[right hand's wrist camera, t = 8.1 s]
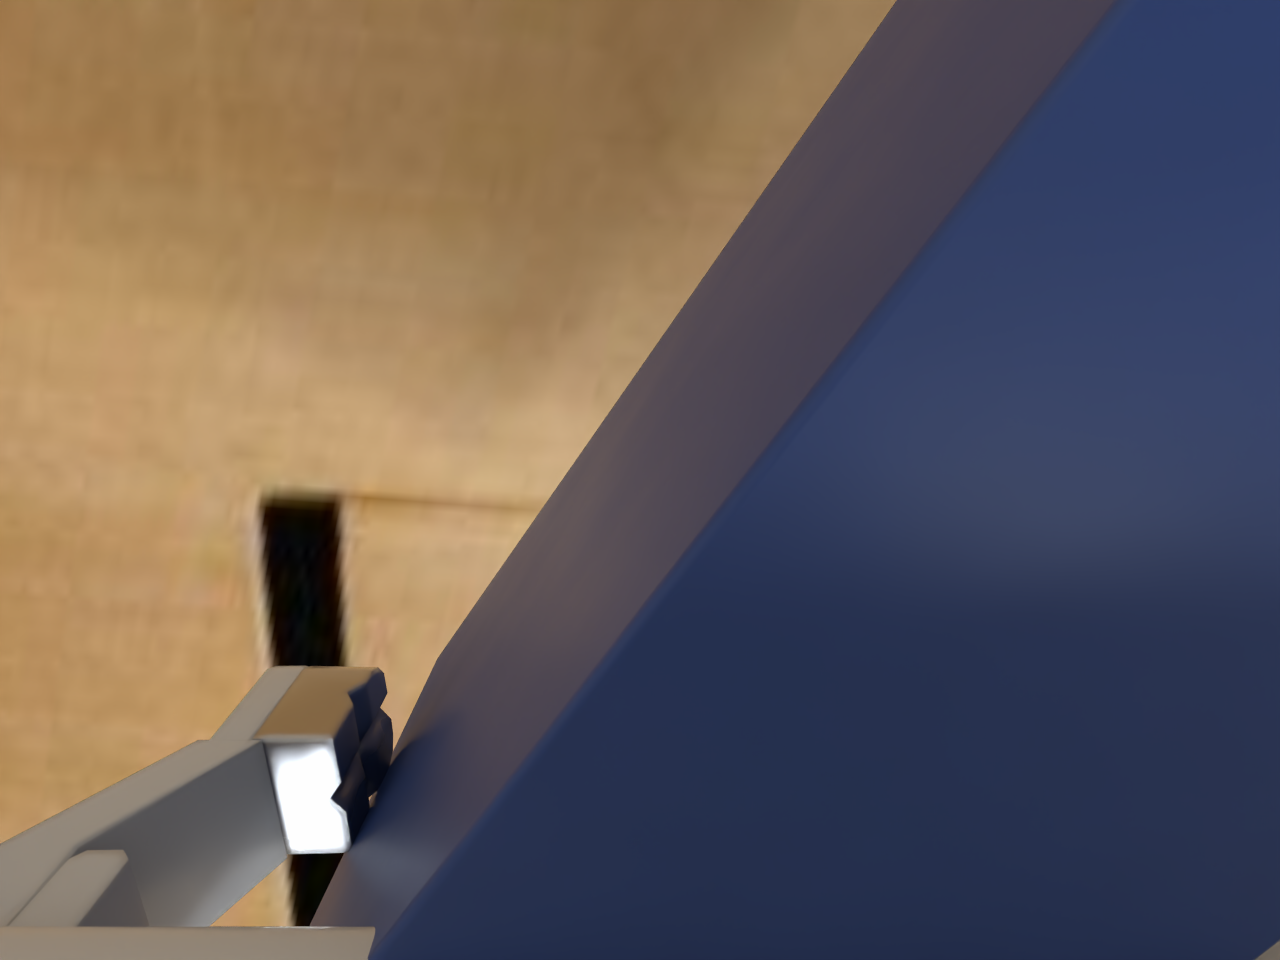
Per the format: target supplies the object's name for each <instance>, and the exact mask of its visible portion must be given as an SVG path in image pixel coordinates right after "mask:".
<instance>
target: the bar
mask: <svg viewBox="0 0 1280 960" xmlns="http://www.w3.org/2000/svg"><path fill="white" fill-rule="evenodd" d="M369 804H370V809H369V811H368V813H367V816H366V818H365V820H364V822H363V824H362V826H361V828H360V830H359V832H358V835H357V837H356V839H355V841H354V843H353V845H352V847H351V848H350V850H349V851H348V852H345V853H344V855H343V857H342V859H341V861H340V864H339V866H338V868H337V870H336V872H335V874H334V876H333V878H332V880H331V882H330V884H329V887H328V889H327V891H326V893H325V895H324V897H323V899H322V901H321V903H320V905H319V907H318V910H317V912H316V914H315V916H314V918H313V920H312V922H311V924H310V926H309V927H375V935H374V939H373V942H372V945H371V948H370V952H369V955H368V960H1255V959H1256V958H1258V957H1259V956H1260V955H1262V954H1263V953H1264V952H1266V951H1267V950H1268V949H1269V948H1271V947H1272V946H1273V945H1275V944H1276V943H1277V942H1279V941H1280V0H897V1H896V2H895V4H894V5H893V7H892V8H891V9H890V11H889V12H888V14H887V15H886V17H885V18H884V19H883V21H882V22H881V24H880V25H879V27H878V28H877V30H876V31H875V32H874V34H873V35H872V37H871V38H870V40H869V41H868V42H867V44H866V45H865V47H864V48H863V50H862V51H861V52H860V54H859V55H858V57H857V58H856V60H855V61H854V62H853V64H852V65H851V67H850V68H849V70H848V71H847V73H846V74H845V75H844V77H843V78H842V80H841V81H840V83H839V84H838V85H837V87H836V88H835V90H834V91H833V93H832V94H831V95H830V97H829V98H828V100H827V101H826V103H825V104H824V105H823V107H822V108H821V110H820V111H819V113H818V114H817V116H816V117H815V118H814V120H813V121H812V123H811V124H810V126H809V127H808V128H807V130H806V131H805V133H804V134H803V136H802V137H801V138H800V140H799V141H798V143H797V144H796V146H795V147H794V148H793V150H792V151H791V153H790V154H789V156H788V157H787V159H786V160H785V161H784V163H783V164H782V166H781V167H780V169H779V170H778V171H777V173H776V174H775V176H774V177H773V179H772V180H771V181H770V183H769V184H768V186H767V187H766V189H765V190H764V191H763V193H762V194H761V196H760V197H759V199H758V200H757V202H756V203H755V204H754V206H753V207H752V209H751V210H750V212H749V213H748V214H747V216H746V217H745V219H744V220H743V222H742V223H741V224H740V226H739V227H738V229H737V230H736V232H735V233H734V234H733V236H732V237H731V239H730V240H729V242H728V243H727V244H726V246H725V247H724V249H723V250H722V252H721V253H720V255H719V256H718V257H717V259H716V260H715V262H714V263H713V265H712V266H711V267H710V269H709V270H708V272H707V273H706V275H705V276H704V277H703V279H702V280H701V282H700V283H699V285H698V286H697V287H696V289H695V290H694V292H693V293H692V295H691V296H690V298H689V299H688V300H687V302H686V303H685V305H684V306H683V308H682V309H681V310H680V312H679V313H678V315H677V316H676V318H675V319H674V320H673V322H672V323H671V325H670V326H669V328H668V329H667V330H666V332H665V333H664V335H663V336H662V338H661V339H660V341H659V342H658V343H657V345H656V346H655V348H654V349H653V351H652V352H651V353H650V355H649V356H648V358H647V359H646V361H645V362H644V363H643V365H642V366H641V368H640V369H639V371H638V372H637V373H636V375H635V376H634V378H633V379H632V381H631V382H630V384H629V385H628V386H627V388H626V389H625V391H624V392H623V394H622V395H621V396H620V398H619V399H618V401H617V402H616V404H615V405H614V406H613V408H612V409H611V411H610V412H609V414H608V415H607V416H606V418H605V419H604V421H603V422H602V424H601V425H600V427H599V428H598V429H597V431H596V432H595V434H594V435H593V437H592V438H591V439H590V441H589V442H588V444H587V445H586V447H585V448H584V449H583V451H582V452H581V454H580V455H579V457H578V458H577V459H576V461H575V462H574V464H573V465H572V467H571V468H570V470H569V471H568V472H567V474H566V475H565V477H564V478H563V480H562V481H561V482H560V484H559V485H558V487H557V488H556V490H555V491H554V492H553V494H552V495H551V497H550V498H549V500H548V501H547V502H546V504H545V505H544V507H543V508H542V510H541V511H540V513H539V514H538V515H537V517H536V518H535V520H534V521H533V523H532V524H531V525H530V527H529V528H528V530H527V531H526V533H525V534H524V535H523V537H522V538H521V540H520V541H519V543H518V544H517V545H516V547H515V548H514V550H513V551H512V553H511V554H510V556H509V557H508V558H507V560H506V561H505V563H504V564H503V566H502V567H501V568H500V570H499V571H498V573H497V574H496V576H495V577H494V578H493V580H492V581H491V583H490V584H489V586H488V587H487V588H486V590H485V591H484V593H483V594H482V596H481V597H480V599H479V600H478V601H477V603H476V604H475V606H474V607H473V609H472V610H471V611H470V613H469V614H468V616H467V617H466V619H465V620H464V621H463V623H462V624H461V626H460V627H459V629H458V630H457V631H456V633H455V634H454V636H453V637H452V639H451V640H450V641H449V643H448V644H447V646H446V647H445V649H444V650H443V652H442V653H441V654H440V656H439V657H438V659H437V661H436V663H435V665H434V667H433V669H432V671H431V673H430V676H429V678H428V680H427V682H426V684H425V686H424V688H423V690H422V692H421V694H420V696H419V698H418V701H417V703H416V705H415V707H414V709H413V711H412V713H411V715H410V717H409V719H408V721H407V724H406V726H405V728H404V730H403V732H402V734H401V736H400V738H399V740H398V742H397V744H396V747H395V749H394V751H393V753H392V757H391V762H390V767H389V769H388V771H387V773H386V775H385V777H384V779H383V782H382V784H381V785H380V787H379V789H378V790H377V792H375V793H374V794H373V795H372V797H371V799H370V801H369Z"/></svg>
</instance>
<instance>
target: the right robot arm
mask: <svg viewBox="0 0 1280 960" xmlns="http://www.w3.org/2000/svg"><path fill="white" fill-rule="evenodd" d="M386 695H387V688H386V683H385V677H384V673H383V672H382V671H381V670H380V669H379V668H376V667H329V666H310V667H307V666H275V667H272V668H269V669H267V670H266V671H265V672H264V674H263V675H262V676H261V677H260V679H259V680H258V681H257V682H256V683H255V685H254V686H253V687H252V688H251V690H250V691H249V692H248V693H247V694H246V696H245V697H244V698H243V699H242V701H241V702H240V703H239V704H238V706H237V707H236V708H235V709H234V710H233V712H232V713H231V714H230V715H229V717H228V718H227V719H226V720H225V721H224V723H223V724H222V725H221V726H220V728H219V729H218V730H217V731H216V733H215V734H214V735H213V736H212V737H211V739H210V740H197V741H195V742H193V743H192V744H190V745H188V746H186V747H184V748H182V749H180V750H178V751H176V752H174V753H172V754H171V755H169V756H167V757H165V758H163V759H161V760H159V761H157V762H155V763H153V764H151V765H150V766H148V767H146V768H144V769H142V770H140V771H138V772H136V773H134V774H132V775H131V776H129V777H127V778H125V779H123V780H121V781H119V782H117V783H115V784H113V785H111V786H110V787H108V788H106V789H104V790H102V791H100V792H98V793H96V794H94V795H92V796H91V797H89V798H87V799H85V800H83V801H81V802H79V803H77V804H75V805H73V806H71V807H70V808H68V809H66V810H64V811H62V812H60V813H58V814H56V815H54V816H52V817H51V818H49V819H47V820H45V821H43V822H41V823H39V824H37V825H35V826H33V827H31V828H30V829H28V830H26V831H24V832H22V833H20V834H18V835H16V836H14V837H12V838H10V839H9V840H7V841H5V842H3V843H1V844H0V960H368V955H369V952H370V948H371V945H372V942H373V939H374V935H375V927H209V926H210V925H211V924H212V923H214V922H215V921H216V920H217V919H218V918H219V917H220V916H221V915H223V914H224V913H225V912H226V911H227V910H228V909H229V908H231V907H232V906H233V905H234V904H235V903H236V902H237V901H239V900H240V899H241V898H242V897H243V896H244V895H245V894H247V893H248V892H249V891H250V890H251V889H252V888H253V887H255V886H256V885H257V884H258V883H259V882H260V881H261V880H263V879H264V878H265V877H266V876H267V875H268V874H269V873H271V872H272V871H273V870H274V869H275V868H276V867H277V866H278V865H280V864H281V863H282V862H283V861H284V860H285V859H286V858H287V854H310V853H344V852H348V851H349V850H350V848H351V847H352V845H353V843H354V841H355V839H356V837H357V835H358V832H359V830H360V828H361V826H362V824H363V822H364V820H365V818H366V816H367V813H368V811H369V809H370V804H369V798H368V797H370V796H371V795H372V794H374V793H375V792H377V790H378V789H379V787H380V785H381V784H382V782H383V779H384V777H385V775H386V773H387V771H388V769H389V767H390V762H391V757H392V752H393V730H392V722H391V718H390V717H389V716H388V715H387V714H386V713H385V712H384V711H383V710H382V709H381V708H380V707H381V705H382V703H383V701H384V699H385V697H386ZM1255 960H1280V941H1279V942H1277V943H1276V944H1275V945H1273V946H1272V947H1271V948H1269V949H1268V950H1267V951H1266V952H1264V953H1263V954H1262V955H1260V956H1259V957H1258V958H1256V959H1255Z"/></svg>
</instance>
